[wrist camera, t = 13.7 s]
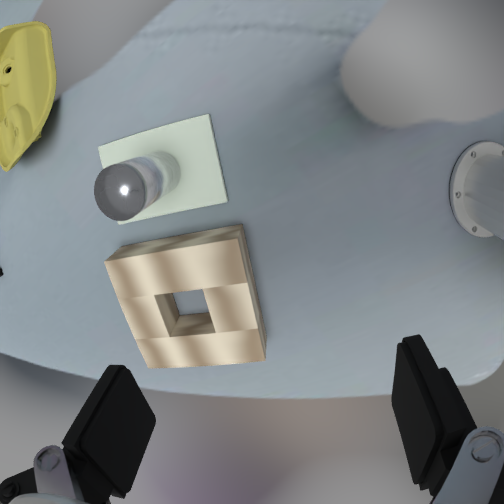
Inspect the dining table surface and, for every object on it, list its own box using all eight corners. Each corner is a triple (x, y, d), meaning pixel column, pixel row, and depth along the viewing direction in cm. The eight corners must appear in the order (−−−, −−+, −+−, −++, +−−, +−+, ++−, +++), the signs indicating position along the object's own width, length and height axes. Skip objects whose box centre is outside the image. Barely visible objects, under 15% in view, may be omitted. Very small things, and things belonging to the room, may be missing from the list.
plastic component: (-15, 62, 28) (3, 21, 22) (25, 56, 34) (49, 19, 28) (2, 180, 33) (18, 156, 27) (44, 166, 39) (70, 142, 33)
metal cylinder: (173, 145, 33) (133, 156, 24) (186, 187, 35) (151, 213, 26) (134, 158, 34) (87, 175, 25) (147, 199, 36) (105, 227, 27)
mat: (209, 114, 33) (208, 114, 32) (228, 200, 36) (227, 202, 36) (101, 146, 35) (97, 147, 34) (121, 222, 38) (118, 224, 37)
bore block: (242, 224, 37) (237, 238, 33) (266, 336, 43) (265, 360, 38) (121, 246, 39) (104, 261, 35) (159, 346, 45) (148, 368, 40)
